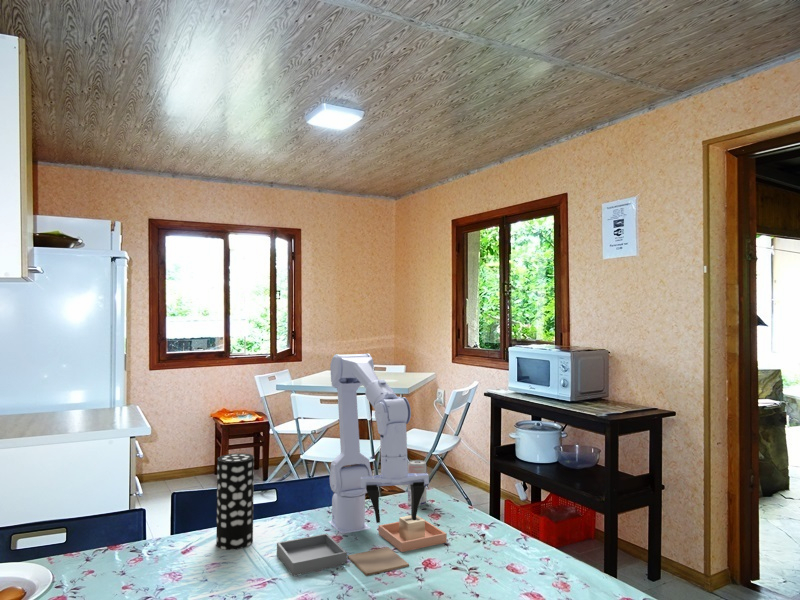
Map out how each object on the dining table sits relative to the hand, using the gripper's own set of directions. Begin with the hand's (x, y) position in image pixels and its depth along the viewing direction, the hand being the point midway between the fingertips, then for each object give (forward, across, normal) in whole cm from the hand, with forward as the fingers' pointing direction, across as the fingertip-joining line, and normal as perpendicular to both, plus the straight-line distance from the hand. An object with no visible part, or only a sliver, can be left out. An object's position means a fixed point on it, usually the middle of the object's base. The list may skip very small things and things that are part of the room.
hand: (395, 520), depth 121 cm
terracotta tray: (+9, +5, +16) cm, 19 cm away
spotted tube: (+8, -36, +19) cm, 42 cm away
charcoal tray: (+9, -18, +8) cm, 22 cm away
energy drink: (+8, +10, +41) cm, 43 cm away
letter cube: (+9, +5, +16) cm, 19 cm away
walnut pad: (+10, -4, +4) cm, 11 cm away
